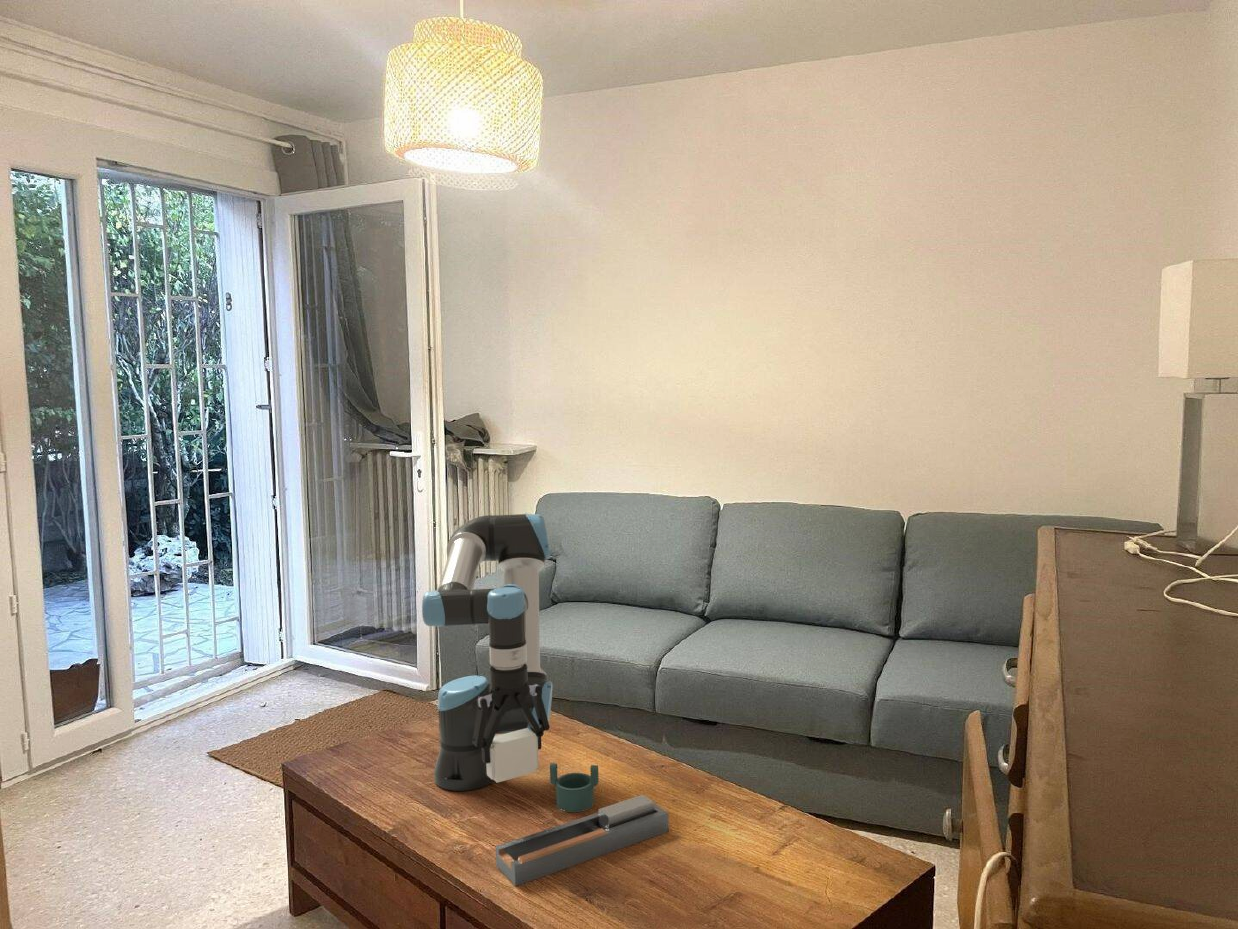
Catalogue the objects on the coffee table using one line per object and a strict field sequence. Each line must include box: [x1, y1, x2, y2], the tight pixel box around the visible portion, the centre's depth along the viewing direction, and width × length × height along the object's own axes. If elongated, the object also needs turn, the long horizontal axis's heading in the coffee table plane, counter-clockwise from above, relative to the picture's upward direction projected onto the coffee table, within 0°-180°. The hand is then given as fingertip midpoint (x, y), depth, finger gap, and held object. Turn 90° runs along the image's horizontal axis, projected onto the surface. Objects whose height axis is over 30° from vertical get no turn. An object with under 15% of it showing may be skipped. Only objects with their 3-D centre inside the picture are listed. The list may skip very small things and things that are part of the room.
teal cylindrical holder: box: [549, 762, 600, 813], centre depth 199 cm, size 9×9×9 cm
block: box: [491, 728, 538, 784], centre depth 185 cm, size 4×9×8 cm, turn 122°
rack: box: [495, 794, 670, 887], centre depth 180 cm, size 8×35×6 cm, turn 122°
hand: (512, 771), depth 185 cm, fingers closed on block, 9 cm apart
